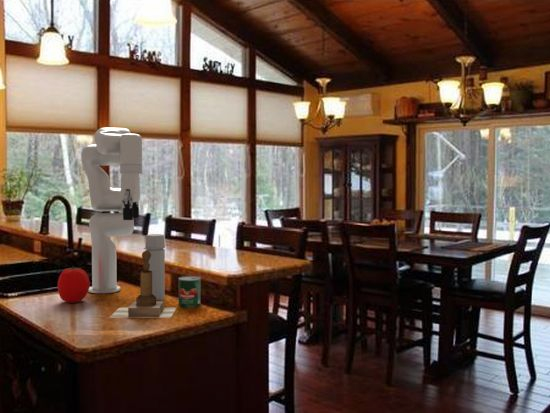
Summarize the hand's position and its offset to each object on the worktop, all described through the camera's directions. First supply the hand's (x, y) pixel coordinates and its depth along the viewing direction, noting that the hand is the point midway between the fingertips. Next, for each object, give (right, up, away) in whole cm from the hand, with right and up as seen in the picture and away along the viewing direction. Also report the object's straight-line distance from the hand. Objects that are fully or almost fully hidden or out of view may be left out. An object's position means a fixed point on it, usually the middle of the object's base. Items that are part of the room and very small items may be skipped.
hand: (131, 218), depth 197 cm
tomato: (-25, -32, +13) cm, 42 cm away
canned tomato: (+20, -33, +6) cm, 38 cm away
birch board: (+6, -33, -6) cm, 34 cm away
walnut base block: (+7, -32, -7) cm, 33 cm away
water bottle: (+4, -32, +17) cm, 36 cm away
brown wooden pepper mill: (+7, -29, -7) cm, 30 cm away
